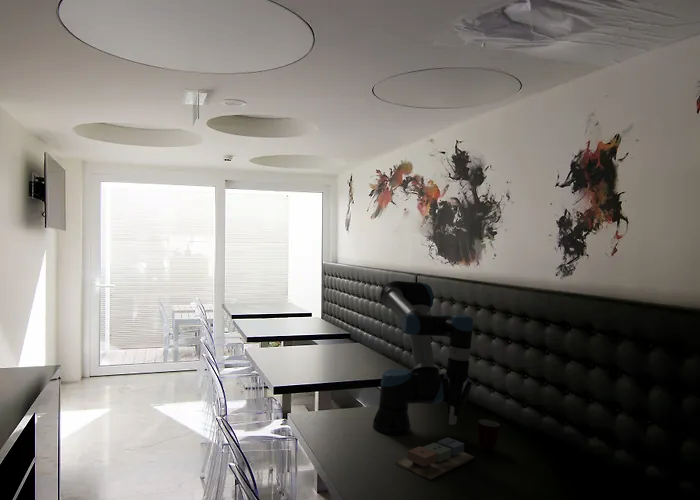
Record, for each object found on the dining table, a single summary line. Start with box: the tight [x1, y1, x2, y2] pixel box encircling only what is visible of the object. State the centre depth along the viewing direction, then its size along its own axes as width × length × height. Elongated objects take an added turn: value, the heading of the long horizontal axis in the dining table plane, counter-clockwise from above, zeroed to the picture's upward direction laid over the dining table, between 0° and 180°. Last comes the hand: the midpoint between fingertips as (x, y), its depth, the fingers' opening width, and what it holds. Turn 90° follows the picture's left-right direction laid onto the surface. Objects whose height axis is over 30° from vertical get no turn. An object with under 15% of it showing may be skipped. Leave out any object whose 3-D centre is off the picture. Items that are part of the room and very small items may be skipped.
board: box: [395, 451, 475, 481], centre depth 173 cm, size 14×28×3 cm, turn 137°
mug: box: [476, 418, 501, 452], centre depth 187 cm, size 10×8×10 cm
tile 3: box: [437, 436, 465, 456], centre depth 180 cm, size 7×7×3 cm
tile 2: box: [422, 442, 451, 462], centre depth 173 cm, size 7×7×3 cm
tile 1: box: [406, 445, 437, 467], centre depth 166 cm, size 7×7×3 cm
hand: (452, 423), depth 180 cm, fingers closed
